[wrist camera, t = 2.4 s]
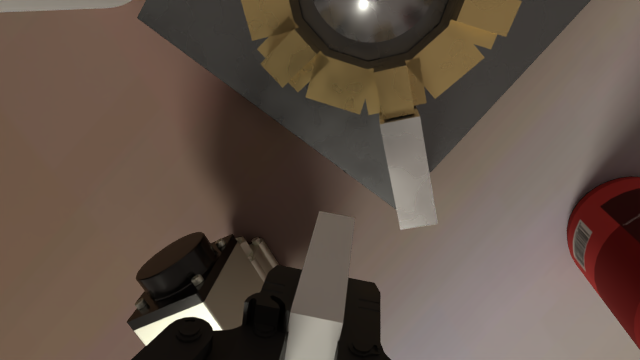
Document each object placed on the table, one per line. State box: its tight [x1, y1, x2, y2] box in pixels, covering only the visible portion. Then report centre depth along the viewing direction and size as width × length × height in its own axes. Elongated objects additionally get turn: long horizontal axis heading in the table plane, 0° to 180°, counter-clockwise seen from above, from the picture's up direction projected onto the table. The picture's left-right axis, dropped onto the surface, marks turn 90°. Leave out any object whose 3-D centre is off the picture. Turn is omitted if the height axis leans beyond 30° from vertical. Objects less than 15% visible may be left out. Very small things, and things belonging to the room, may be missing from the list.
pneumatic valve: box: [127, 232, 279, 346], centre depth 29 cm, size 6×12×12 cm, turn 28°
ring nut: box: [241, 0, 522, 230], centre depth 23 cm, size 20×13×5 cm
